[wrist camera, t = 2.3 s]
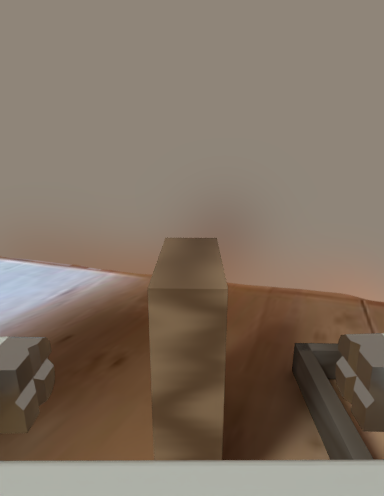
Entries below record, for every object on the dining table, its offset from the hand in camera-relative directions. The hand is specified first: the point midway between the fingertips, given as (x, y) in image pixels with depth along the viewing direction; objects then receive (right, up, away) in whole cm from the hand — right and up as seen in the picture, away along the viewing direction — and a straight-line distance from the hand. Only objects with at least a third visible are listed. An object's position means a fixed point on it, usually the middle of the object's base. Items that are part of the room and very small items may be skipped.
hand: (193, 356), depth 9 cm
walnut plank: (0, -11, +16) cm, 19 cm away
